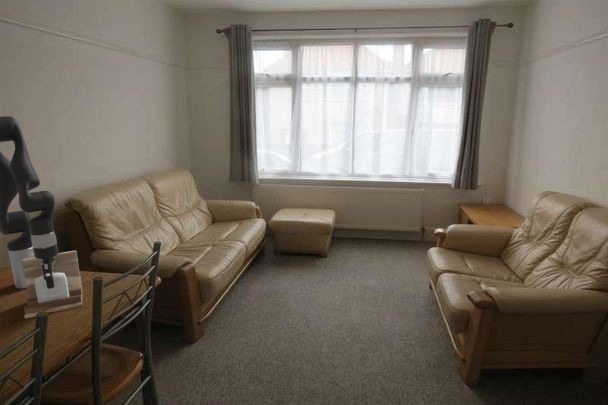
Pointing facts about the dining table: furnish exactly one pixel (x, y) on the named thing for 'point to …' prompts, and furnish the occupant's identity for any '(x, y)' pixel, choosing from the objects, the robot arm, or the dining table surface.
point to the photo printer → (52, 293)
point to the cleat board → (63, 264)
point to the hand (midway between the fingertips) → (51, 283)
